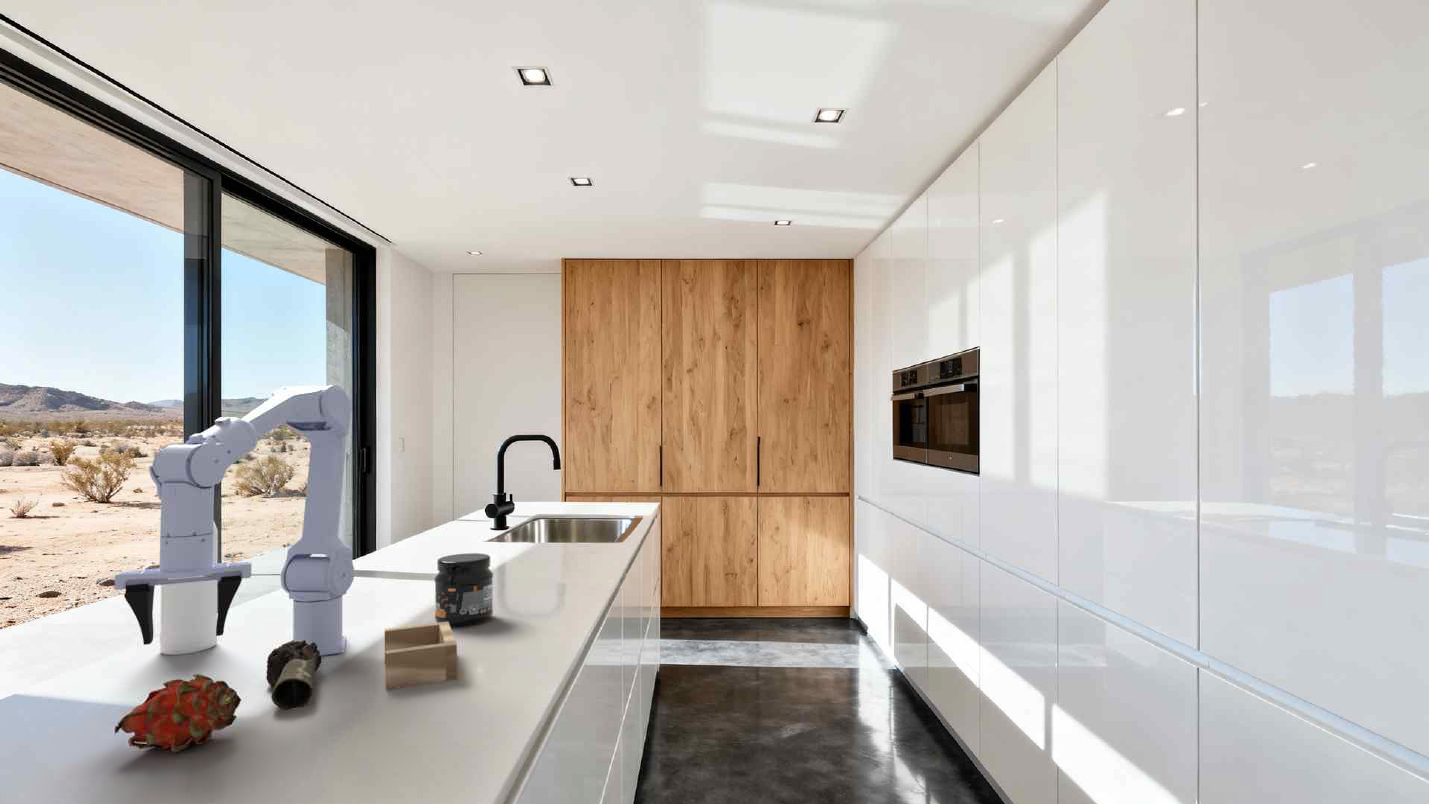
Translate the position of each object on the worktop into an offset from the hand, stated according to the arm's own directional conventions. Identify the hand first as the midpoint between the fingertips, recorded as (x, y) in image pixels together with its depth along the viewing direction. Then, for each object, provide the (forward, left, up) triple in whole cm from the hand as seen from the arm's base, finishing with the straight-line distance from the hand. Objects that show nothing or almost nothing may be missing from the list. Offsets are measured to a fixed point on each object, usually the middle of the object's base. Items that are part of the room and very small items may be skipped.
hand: (184, 638), depth 96 cm
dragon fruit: (+13, +2, -10) cm, 16 cm away
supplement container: (-29, +38, -10) cm, 49 cm away
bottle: (-33, -6, -10) cm, 35 cm away
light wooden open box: (-3, +28, -10) cm, 30 cm away
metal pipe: (-3, +12, -10) cm, 16 cm away
